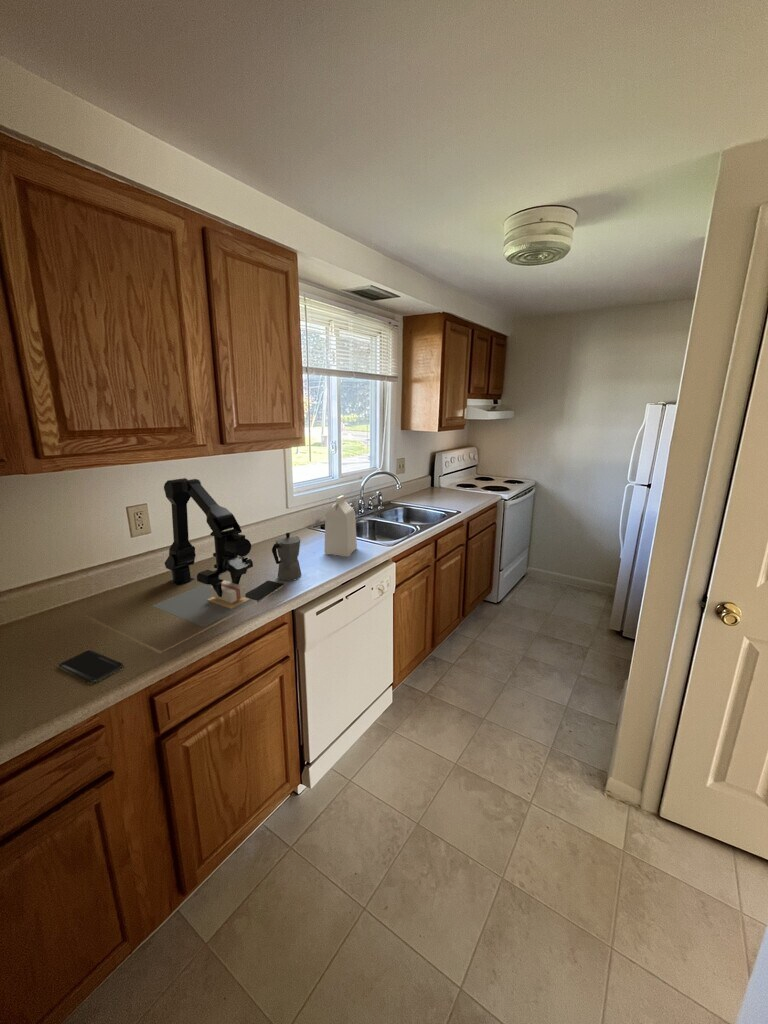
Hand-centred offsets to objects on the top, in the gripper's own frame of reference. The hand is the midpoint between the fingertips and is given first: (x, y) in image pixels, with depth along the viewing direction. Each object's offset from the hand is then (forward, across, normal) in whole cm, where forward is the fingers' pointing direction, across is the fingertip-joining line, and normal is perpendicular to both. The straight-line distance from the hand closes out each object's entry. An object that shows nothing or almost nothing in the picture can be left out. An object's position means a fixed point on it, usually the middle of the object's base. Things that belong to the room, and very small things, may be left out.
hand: (228, 593), depth 140 cm
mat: (+3, -6, +5) cm, 8 cm away
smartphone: (+4, +12, -4) cm, 13 cm away
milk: (+3, +62, -3) cm, 62 cm away
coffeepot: (+3, +26, -3) cm, 26 cm away
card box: (+1, 0, 0) cm, 1 cm away
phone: (+4, -43, 0) cm, 43 cm away
